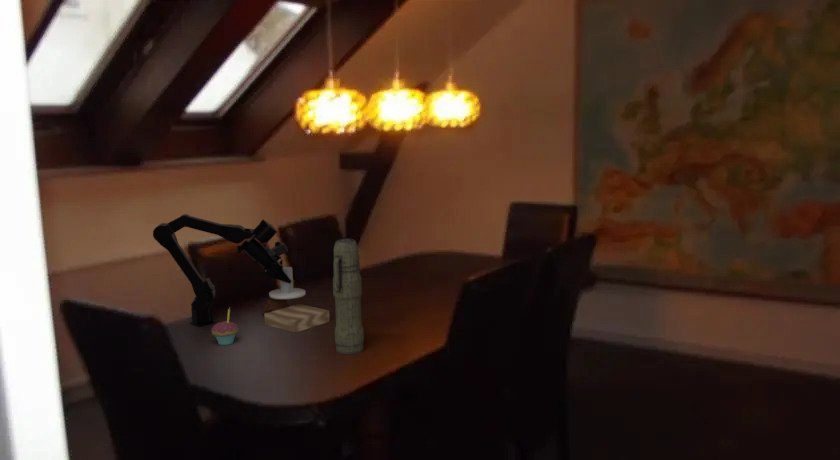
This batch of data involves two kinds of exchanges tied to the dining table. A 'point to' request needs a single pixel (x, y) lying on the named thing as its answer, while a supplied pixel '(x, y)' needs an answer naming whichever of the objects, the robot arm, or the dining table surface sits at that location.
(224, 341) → the cupcake
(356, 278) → the thermos
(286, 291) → the white peg stand
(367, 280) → the dining table surface
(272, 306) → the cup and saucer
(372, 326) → the dining table surface
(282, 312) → the trivet
